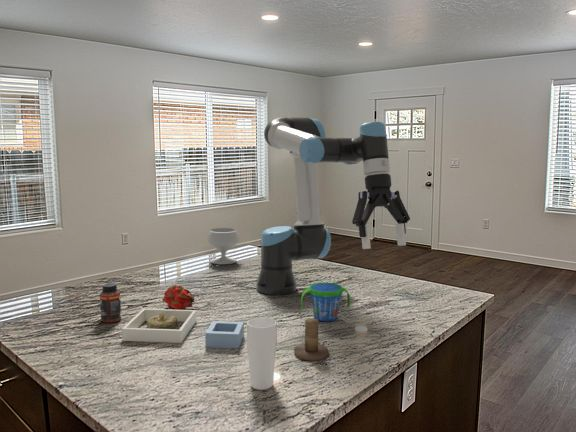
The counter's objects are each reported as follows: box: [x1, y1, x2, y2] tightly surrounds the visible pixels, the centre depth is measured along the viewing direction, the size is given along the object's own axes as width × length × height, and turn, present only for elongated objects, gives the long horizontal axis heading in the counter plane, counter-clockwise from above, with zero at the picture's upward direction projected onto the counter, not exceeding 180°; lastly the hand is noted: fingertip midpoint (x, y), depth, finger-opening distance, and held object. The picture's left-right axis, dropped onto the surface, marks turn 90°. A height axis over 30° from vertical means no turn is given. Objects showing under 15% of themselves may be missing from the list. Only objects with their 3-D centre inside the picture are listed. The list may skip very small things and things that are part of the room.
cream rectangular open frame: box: [121, 308, 197, 344], centre depth 143 cm, size 17×17×4 cm
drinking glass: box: [246, 316, 278, 391], centre depth 110 cm, size 7×7×15 cm
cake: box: [145, 313, 181, 330], centre depth 143 cm, size 10×10×5 cm
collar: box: [204, 320, 245, 349], centre depth 136 cm, size 9×9×4 cm
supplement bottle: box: [99, 282, 122, 324], centre depth 150 cm, size 6×6×11 cm
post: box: [293, 317, 329, 362], centre depth 128 cm, size 9×9×9 cm
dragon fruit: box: [161, 284, 196, 310], centre depth 161 cm, size 8×8×12 cm
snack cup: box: [300, 282, 351, 322], centre depth 154 cm, size 16×10×10 cm
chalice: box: [207, 227, 240, 265], centre depth 225 cm, size 14×14×15 cm
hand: (384, 247), depth 142 cm, fingers open, 13 cm apart
